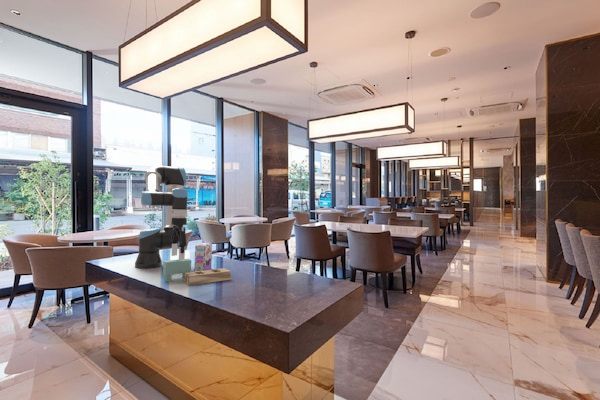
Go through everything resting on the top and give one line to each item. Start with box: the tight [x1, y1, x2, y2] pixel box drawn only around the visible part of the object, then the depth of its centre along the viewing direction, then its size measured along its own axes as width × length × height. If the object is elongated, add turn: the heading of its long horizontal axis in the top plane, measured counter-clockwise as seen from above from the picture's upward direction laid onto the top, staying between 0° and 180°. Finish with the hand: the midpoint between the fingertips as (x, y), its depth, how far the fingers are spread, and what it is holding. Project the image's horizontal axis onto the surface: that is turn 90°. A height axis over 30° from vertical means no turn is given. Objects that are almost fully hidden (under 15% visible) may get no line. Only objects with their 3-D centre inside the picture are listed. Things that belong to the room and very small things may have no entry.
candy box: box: [193, 242, 213, 272], centre depth 178 cm, size 14×6×16 cm, turn 179°
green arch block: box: [162, 258, 192, 282], centre depth 158 cm, size 4×13×10 cm, turn 128°
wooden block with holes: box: [183, 267, 232, 286], centre depth 158 cm, size 9×22×4 cm, turn 128°
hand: (177, 257), depth 158 cm, fingers open, 13 cm apart
